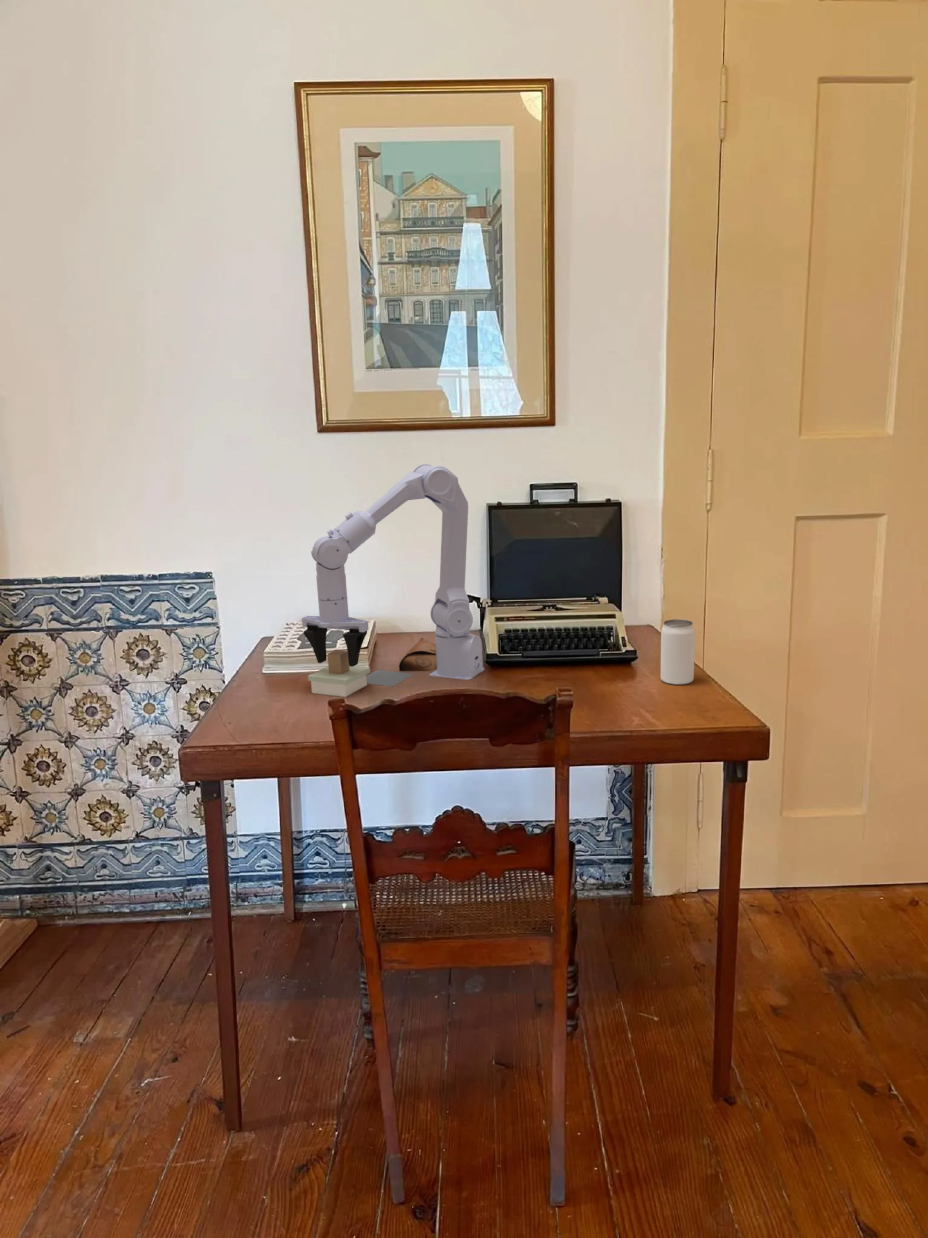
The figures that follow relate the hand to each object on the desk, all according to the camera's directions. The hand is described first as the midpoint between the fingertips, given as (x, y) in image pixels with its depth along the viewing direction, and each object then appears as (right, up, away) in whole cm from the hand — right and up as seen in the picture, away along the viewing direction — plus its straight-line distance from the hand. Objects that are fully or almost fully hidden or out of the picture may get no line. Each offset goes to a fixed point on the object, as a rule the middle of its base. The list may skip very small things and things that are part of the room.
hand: (337, 663), depth 176 cm
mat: (+9, -4, +8) cm, 12 cm away
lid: (0, -3, +1) cm, 3 cm away
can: (+68, -4, 0) cm, 68 cm away
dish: (0, -6, +1) cm, 6 cm away
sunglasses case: (+17, -1, +20) cm, 26 cm away
